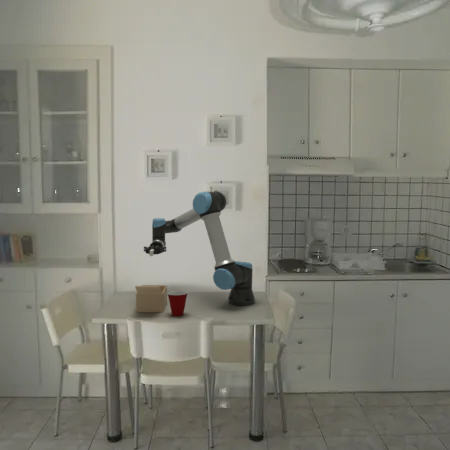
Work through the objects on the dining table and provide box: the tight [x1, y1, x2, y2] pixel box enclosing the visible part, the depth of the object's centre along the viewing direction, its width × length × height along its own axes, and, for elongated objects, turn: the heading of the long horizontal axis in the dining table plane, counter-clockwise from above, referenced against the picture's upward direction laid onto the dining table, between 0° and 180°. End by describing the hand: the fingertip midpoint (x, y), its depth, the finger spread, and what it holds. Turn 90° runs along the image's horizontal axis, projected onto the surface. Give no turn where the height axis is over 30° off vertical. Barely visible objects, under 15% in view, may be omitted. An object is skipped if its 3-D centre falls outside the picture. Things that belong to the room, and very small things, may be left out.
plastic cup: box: [167, 290, 189, 317], centre depth 237 cm, size 11×11×12 cm
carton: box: [135, 284, 168, 313], centre depth 250 cm, size 14×18×10 cm
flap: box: [134, 285, 161, 293], centre depth 236 cm, size 12×1×10 cm
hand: (151, 253), depth 244 cm, fingers closed
